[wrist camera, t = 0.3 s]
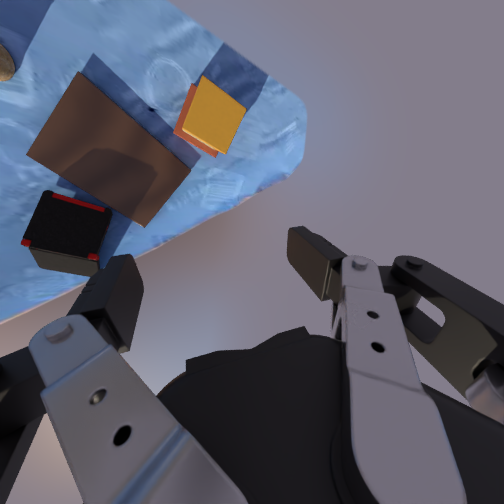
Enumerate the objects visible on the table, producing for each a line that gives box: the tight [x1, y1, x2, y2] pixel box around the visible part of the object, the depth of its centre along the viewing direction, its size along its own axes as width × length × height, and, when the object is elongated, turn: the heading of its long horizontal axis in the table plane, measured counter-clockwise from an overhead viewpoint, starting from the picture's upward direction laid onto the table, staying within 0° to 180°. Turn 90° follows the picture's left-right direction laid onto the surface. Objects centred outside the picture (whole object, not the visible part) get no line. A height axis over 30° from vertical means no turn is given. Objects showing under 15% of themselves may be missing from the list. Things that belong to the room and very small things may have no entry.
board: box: [26, 71, 191, 228], centre depth 33 cm, size 18×14×1 cm
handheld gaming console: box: [21, 190, 113, 277], centre depth 36 cm, size 9×12×10 cm
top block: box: [182, 75, 247, 154], centre depth 24 cm, size 5×5×6 cm
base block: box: [173, 83, 218, 158], centre depth 33 cm, size 7×7×4 cm
